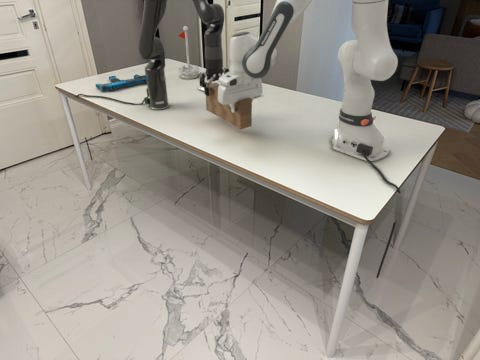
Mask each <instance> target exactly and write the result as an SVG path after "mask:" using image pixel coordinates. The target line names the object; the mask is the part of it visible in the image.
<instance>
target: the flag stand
mask: <svg viewBox="0 0 480 360" xmlns="http://www.w3.org/2000/svg"><path fill="white" fill-rule="evenodd" d="M182 29H183V32H181V33H180V34H178V35H177V36H178V37H179V38H182V39H183V40H184V41H185V51H186V65H187V66H186V65H182V66H180V67H178V73H179V74H180V78H182V79H185V80H187V79H188V80H191V79H196V78H198V77H199V74H200V67H199V66H198V65H194V66H193V65H192V64H191V62H190V49H189V39H188V38H189V35H188V30H189V27H188V26H187V25H184V26H183V27H182Z"/></svg>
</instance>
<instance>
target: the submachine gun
mask: <svg viewBox="0 0 480 360" xmlns="http://www.w3.org/2000/svg"><path fill="white" fill-rule="evenodd" d="M108 80H109V81H110V82H108V83H94V84H95V88H97V89H98V90H99V91H101V92H104V91H111V90H112V91H116V90H115V89H119V88H124V87H128V86H133V85H138V84H143V83H147V81H146V75H145V74H143V75H140V74H134V75H133V78H128V79H120V78H117V76H116V75H110V76H108Z"/></svg>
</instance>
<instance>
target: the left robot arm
mask: <svg viewBox="0 0 480 360" xmlns="http://www.w3.org/2000/svg"><path fill="white" fill-rule="evenodd" d="M191 1H192V3H193V5H194V8H195V11H196V14H197V16H198V18H199V19H200V20H201V22H202V23H203V24H204V25H209V26H208V29H207V30H205V32H204V63H205V64H204V65H205V72H200V71H199V87H200V88H202V87H203V88H204V91H203V92H204V95H205V97H206V96H209V88H208V87H209V85H210V84H211V83H213V82H216V81H217V82H219V78H220V77H221V76H223V75H225V74H226V73H228V72H229V71H230V68H228V67H224V54H223V52H224V51H223V46H222V45H223V41H222V33H223V29H224V23H225V10H224V8H223V7H222V5H221V4H219V3H211V4H210V3H209V2H208V0H191ZM167 4H168V0H144V1H143V12H142V21H141V28H140V31H139V32H140V33H139V37H138V43H137V52H138V55H139V57H140V58H141V59H142V60H144V61H148V63H147V65H146V66H145V67H144V75H146V81H147V82H146V89H145V91H146V96H145V97H143V100H141V103H133V102H128V101H122V100H120V99H116V98H112V97H108V96H104V95H103V96H102V95H91V94H90V95H88V94H83V93H78V94H77V95H76V97H79V96H83V97H88V98H100V99H101V98H103V99H108V100H112V101H114V102H120V103H123V104H127V105H133V106H142V105H148V107H149V108H150V109H151V110H155V111H156V110H157V111H158V110H165V109H167V108H169V107H170V105H169V97H168V88H167V81H166V73H165V68H166V54H165V47H164V43H163V42H162V40H161V39H160V38H159V37H157V36H156V33H157V30H158V28H159V27H160V24H161V23H162V21H163V19H164V17H165V15H166V10H167ZM84 139H85V142H86V147H87V150H88V153H89V157H90V160H91V161H93V157H92V153H91V149H90V145H89V141H88V139H87V137H84Z"/></svg>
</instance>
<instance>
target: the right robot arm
mask: <svg viewBox="0 0 480 360" xmlns="http://www.w3.org/2000/svg"><path fill="white" fill-rule="evenodd" d="M312 1H313V0H276V1H275V3H274V7H273V9H272V11H271V15H270V16H269V19H268V21H267V22H266V25H265V26H264V29H263V31H262V32H261V34H260V36H259V38H257V37H256V36H255V35H253V34H252V32H249V31H242V32H237V33H235V34H233V35H232V36H231V37H230V39H229V45H228V47H229V48H228V59H229V63H230V64H229V72H228V73H226V74H225V75H224V74H222V76H221V77H220V78H219V80H218V83H220V85H219V87H218V101H219V103H221V104H223V105H227V104H229V105H230V107H231V111H232V112H233V113H234V112H237V108H235V107H234V106H233V105H235V102H238V101H239V100H243V99H246V98H251V99H252V102H253V101H254V98H258V97H262V95H263V82H262V78H264V77H265V76H267V74H268V73H269V71H270V70H271V68H272V67H273V66H274V65H275V63H276V62H277V61H278V51H277V46H278V44H279V42H280V40H281V39H282V37H283V35H284V34H285V32H286V31H287V29H288V28H289V26H290V25H292V24H293V23H294V22H295V21H296V20H297V19H298V18H300V16H301V15H302V14H303V13H304V12H305V11H306V9H307V8H308V7H309V6H310V4H311V2H312ZM388 9H389V0H352V3H351V23H350V25H351V29H352V31H353V33H354V34H355V37H356V39H351V40H349V39H348V40H347V41H345V42H344V43H343V44H342V45H341V46H340V48H339V49H338V52H337V60H338V62H339V65H340V67H341V71H342V80H343V95H342V103H341V108H340V109H339V113H338V122H337V123H338V124H337V127H336V129H334V135H333V137H332V139H331V144H332V149H333V150H334V151H336V152H340V153H343V154H344V155H345V154H346V155H348V156H351V157H354V158H356V159H359V160H361V161H365V162H367V163H369V164H370V165H371V166H372V168H374V169H375V170H376V171H377V172H378V173H379V175H380V176H381V177H382V179H383V181H384V182H385V183H387V184H388V185H390V186H392V187H393V188H395V189H396V191H397V193H398V194H401V189H400V188H399V186H398V185H397V184H395V183H394V182H391V181H389V180H388V179H387V178H386V176H385V175H384V174H383V172H382V171H381V170H380V169H379V168H378V167H377V166H376V165H375V164H374V163H373V162H374V161H379V160H381V159H383V158H385V157H387V155H388V154H389V152H390V150H389V148H387V147H386V146H385V138H384V135H383V134H382V133H381V131H379V128H377V126H376V125H375V124H374V121H375V120H376V119H377V116H373V113H372V109H373V104H374V99H375V95H376V94H375V93H376V92H375V89H374V87H373V85H372V81H378V82H384V81H387V80H388V79H390V78H391V77H392V76H393V75H394V74H395V72H396V71H397V68H398V64H399V60H398V56H397V55H396V53H395V52H394V49H393V47H392V45H391V41H390V38H389V31H388ZM257 96H258V97H257ZM396 224H397V221H394V222H393V223H392V227H391V231H390V234H389V237H388V241H387V244H386V247H385V249H384V253H383V255H382V258H381V261H380V264H379V267H378V271H377V273H376V279H379V277H380V273H381V270H382V269H383V265H384V261H385V259H386V256H387V254H388V250H389V249H390V248H389V247H390V244H391V242H392V238H393V236H394V231H395V228H396Z"/></svg>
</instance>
